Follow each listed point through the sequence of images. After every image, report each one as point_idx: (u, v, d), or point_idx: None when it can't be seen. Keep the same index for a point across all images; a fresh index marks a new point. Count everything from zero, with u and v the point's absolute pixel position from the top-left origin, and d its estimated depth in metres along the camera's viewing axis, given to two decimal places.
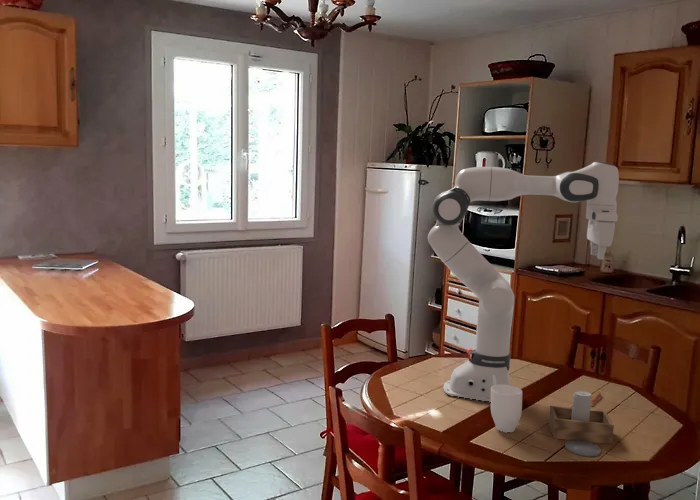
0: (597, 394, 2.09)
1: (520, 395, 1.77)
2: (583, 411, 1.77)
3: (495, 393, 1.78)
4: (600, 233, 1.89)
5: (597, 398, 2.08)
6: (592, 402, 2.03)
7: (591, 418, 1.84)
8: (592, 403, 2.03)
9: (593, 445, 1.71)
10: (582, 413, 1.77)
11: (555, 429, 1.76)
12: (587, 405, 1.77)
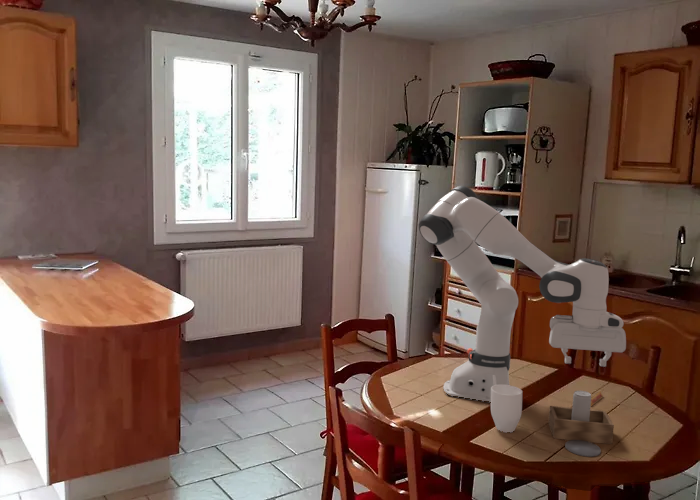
0: (597, 394, 2.09)
1: (520, 395, 1.77)
2: (583, 411, 1.77)
3: (495, 393, 1.78)
4: (625, 339, 1.73)
5: (597, 398, 2.08)
6: (591, 402, 2.03)
7: (591, 418, 1.84)
8: (591, 403, 2.03)
9: (593, 445, 1.71)
10: (582, 413, 1.77)
11: (555, 429, 1.76)
12: (587, 405, 1.77)
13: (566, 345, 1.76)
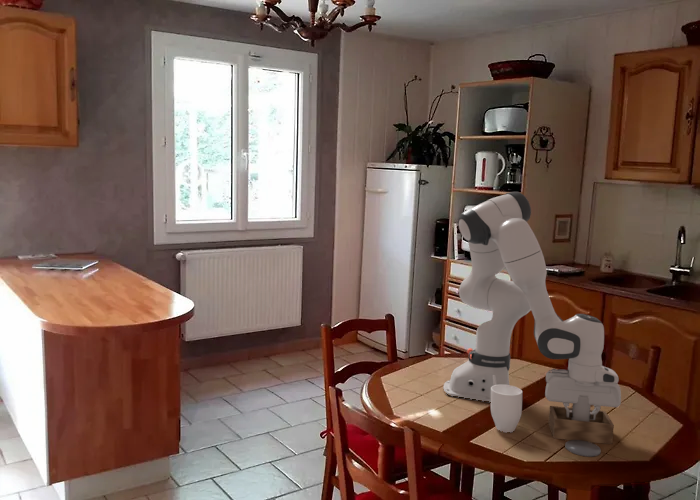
0: None
1: (520, 395, 1.77)
2: (583, 411, 1.77)
3: (495, 393, 1.78)
4: (620, 395, 1.75)
5: None
6: None
7: None
8: None
9: (593, 445, 1.71)
10: (582, 413, 1.77)
11: (555, 429, 1.76)
12: (587, 405, 1.77)
13: (562, 399, 1.78)
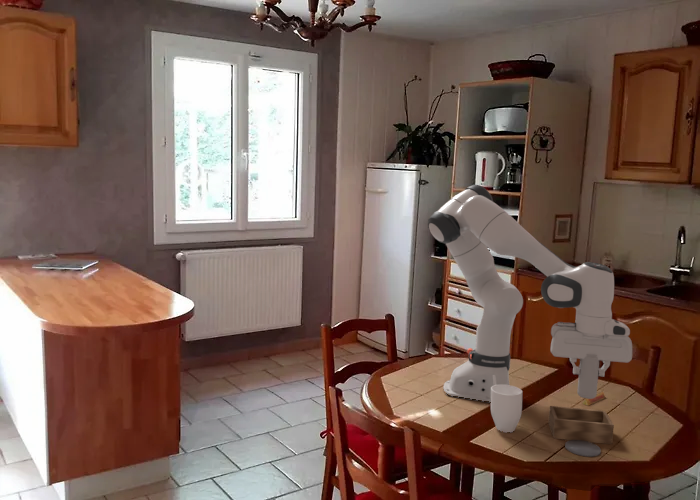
0: (599, 394, 2.09)
1: (520, 395, 1.77)
2: (591, 371, 1.65)
3: (495, 393, 1.78)
4: None
5: (598, 398, 2.07)
6: (589, 401, 2.04)
7: (591, 418, 1.84)
8: (589, 402, 2.04)
9: (593, 445, 1.71)
10: (590, 373, 1.65)
11: (555, 429, 1.76)
12: (595, 365, 1.65)
13: (568, 354, 1.66)
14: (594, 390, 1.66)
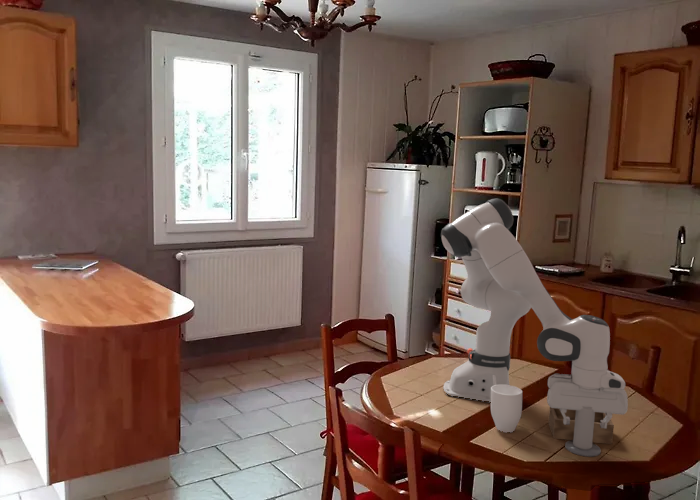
0: None
1: (520, 395, 1.77)
2: (586, 423, 1.67)
3: (495, 393, 1.78)
4: None
5: None
6: None
7: None
8: None
9: (593, 445, 1.71)
10: (586, 425, 1.67)
11: (555, 429, 1.76)
12: (591, 417, 1.66)
13: (565, 406, 1.68)
14: (590, 441, 1.67)
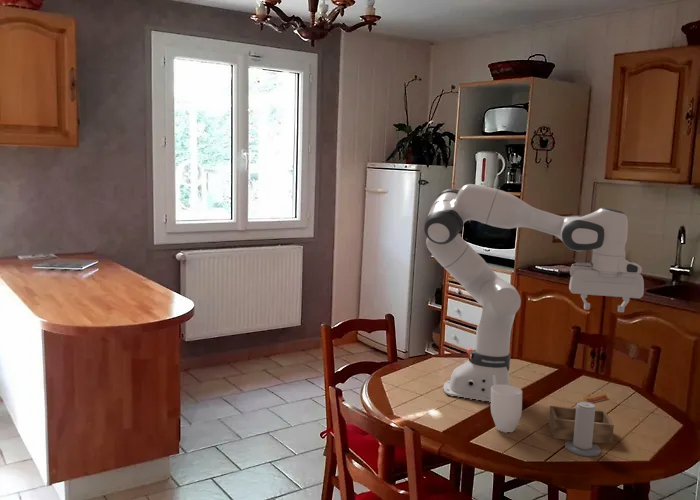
0: (600, 395, 2.08)
1: (520, 395, 1.77)
2: (586, 423, 1.67)
3: (495, 393, 1.78)
4: (643, 285, 1.79)
5: (598, 399, 2.07)
6: (586, 401, 2.04)
7: None
8: (586, 401, 2.04)
9: (593, 445, 1.71)
10: (586, 425, 1.67)
11: (555, 429, 1.76)
12: (591, 417, 1.66)
13: (585, 291, 1.82)
14: (590, 441, 1.67)
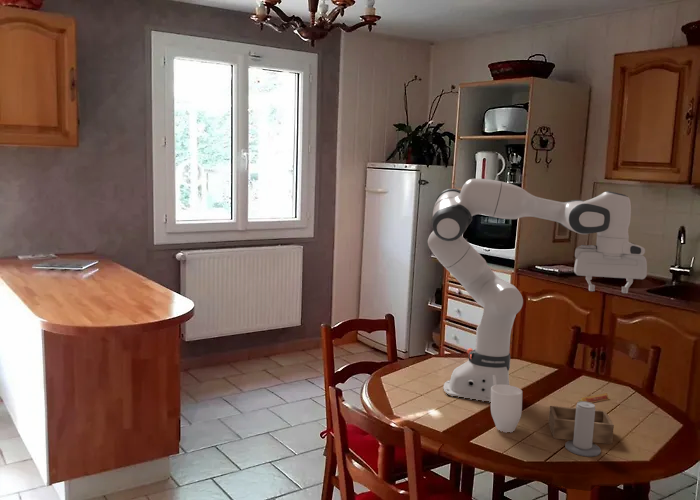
0: (600, 395, 2.08)
1: (520, 395, 1.77)
2: (586, 423, 1.67)
3: (495, 393, 1.78)
4: (646, 266, 1.84)
5: (598, 399, 2.07)
6: (586, 400, 2.05)
7: None
8: (585, 401, 2.04)
9: (593, 445, 1.71)
10: (586, 425, 1.67)
11: (555, 429, 1.76)
12: (591, 417, 1.66)
13: (590, 273, 1.87)
14: (590, 441, 1.67)
